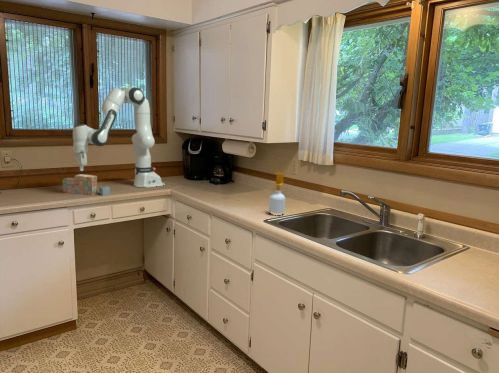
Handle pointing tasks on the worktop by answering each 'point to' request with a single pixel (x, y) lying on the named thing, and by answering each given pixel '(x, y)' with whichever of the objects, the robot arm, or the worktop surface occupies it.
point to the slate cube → (104, 190)
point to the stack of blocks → (80, 185)
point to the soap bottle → (277, 197)
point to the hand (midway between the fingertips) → (81, 170)
